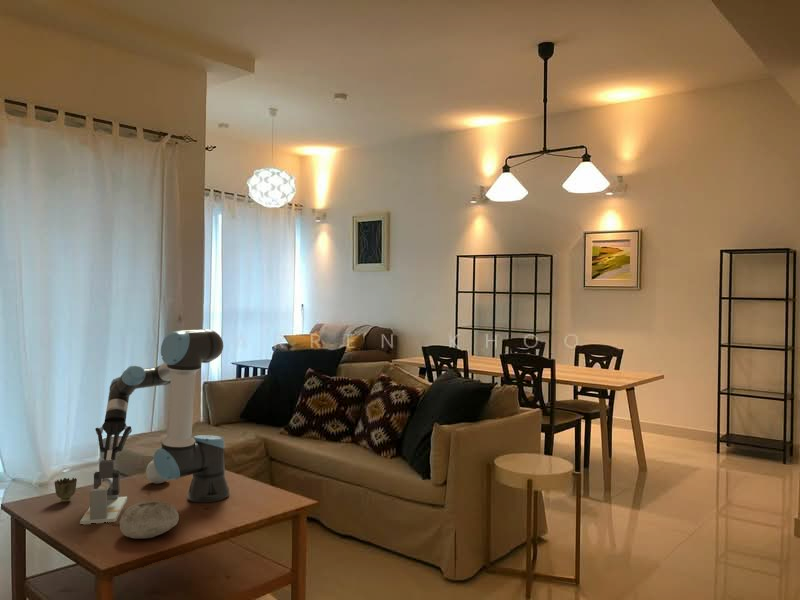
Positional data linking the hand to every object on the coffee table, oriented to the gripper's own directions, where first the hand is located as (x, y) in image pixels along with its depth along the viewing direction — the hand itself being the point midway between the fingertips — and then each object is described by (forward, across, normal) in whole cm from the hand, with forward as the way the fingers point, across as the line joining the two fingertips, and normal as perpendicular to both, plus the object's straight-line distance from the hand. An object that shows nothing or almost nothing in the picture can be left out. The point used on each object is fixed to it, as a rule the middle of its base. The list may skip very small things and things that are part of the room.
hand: (108, 467), depth 234 cm
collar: (+8, 0, -4) cm, 9 cm away
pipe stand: (+14, 0, -5) cm, 15 cm away
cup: (+4, +16, -16) cm, 23 cm away
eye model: (-8, -15, -28) cm, 32 cm away
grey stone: (+33, -18, +13) cm, 40 cm away
